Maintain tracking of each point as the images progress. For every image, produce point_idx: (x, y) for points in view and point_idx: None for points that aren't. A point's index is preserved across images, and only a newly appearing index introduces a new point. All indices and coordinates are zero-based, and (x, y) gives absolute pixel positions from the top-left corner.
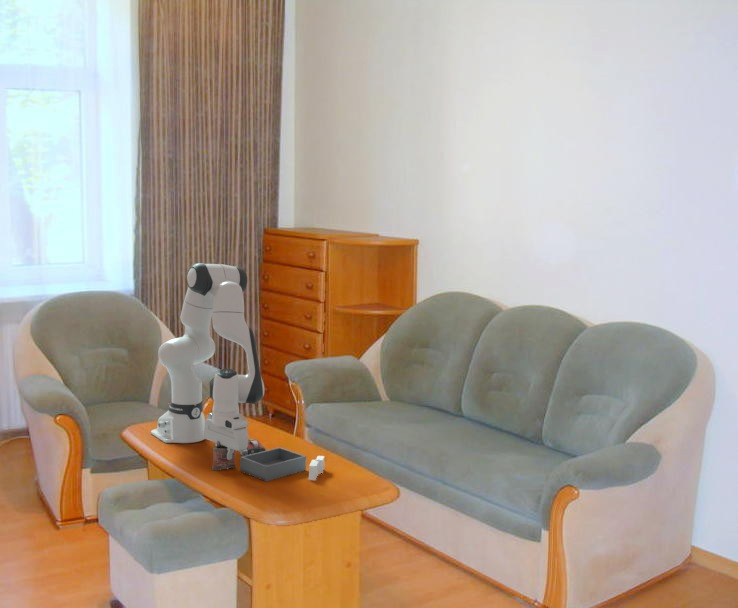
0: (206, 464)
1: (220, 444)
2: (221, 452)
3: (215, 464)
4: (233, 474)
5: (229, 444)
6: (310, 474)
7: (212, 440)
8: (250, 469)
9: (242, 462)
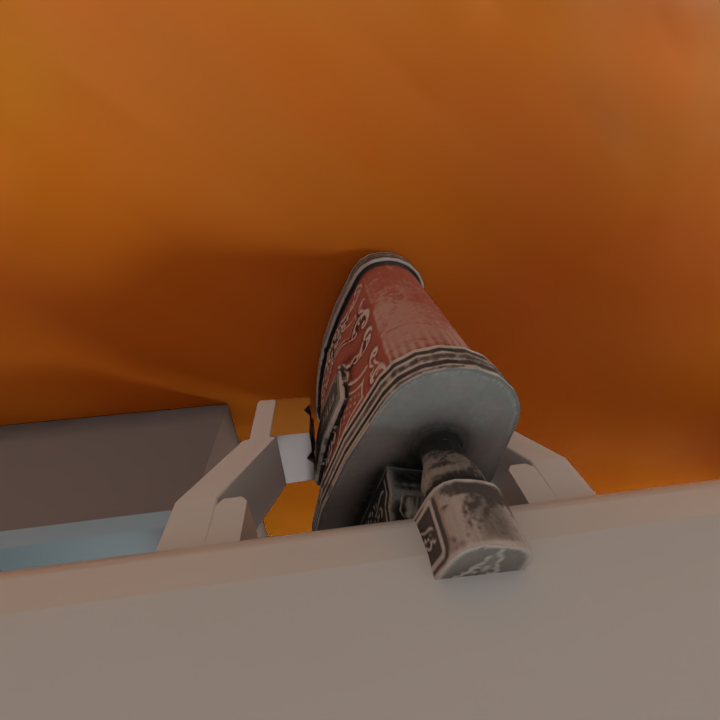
0: (534, 293)
1: (416, 520)
2: (349, 413)
3: (368, 281)
4: (175, 331)
5: (2, 674)
6: None
7: (684, 505)
8: (59, 453)
9: (167, 469)
